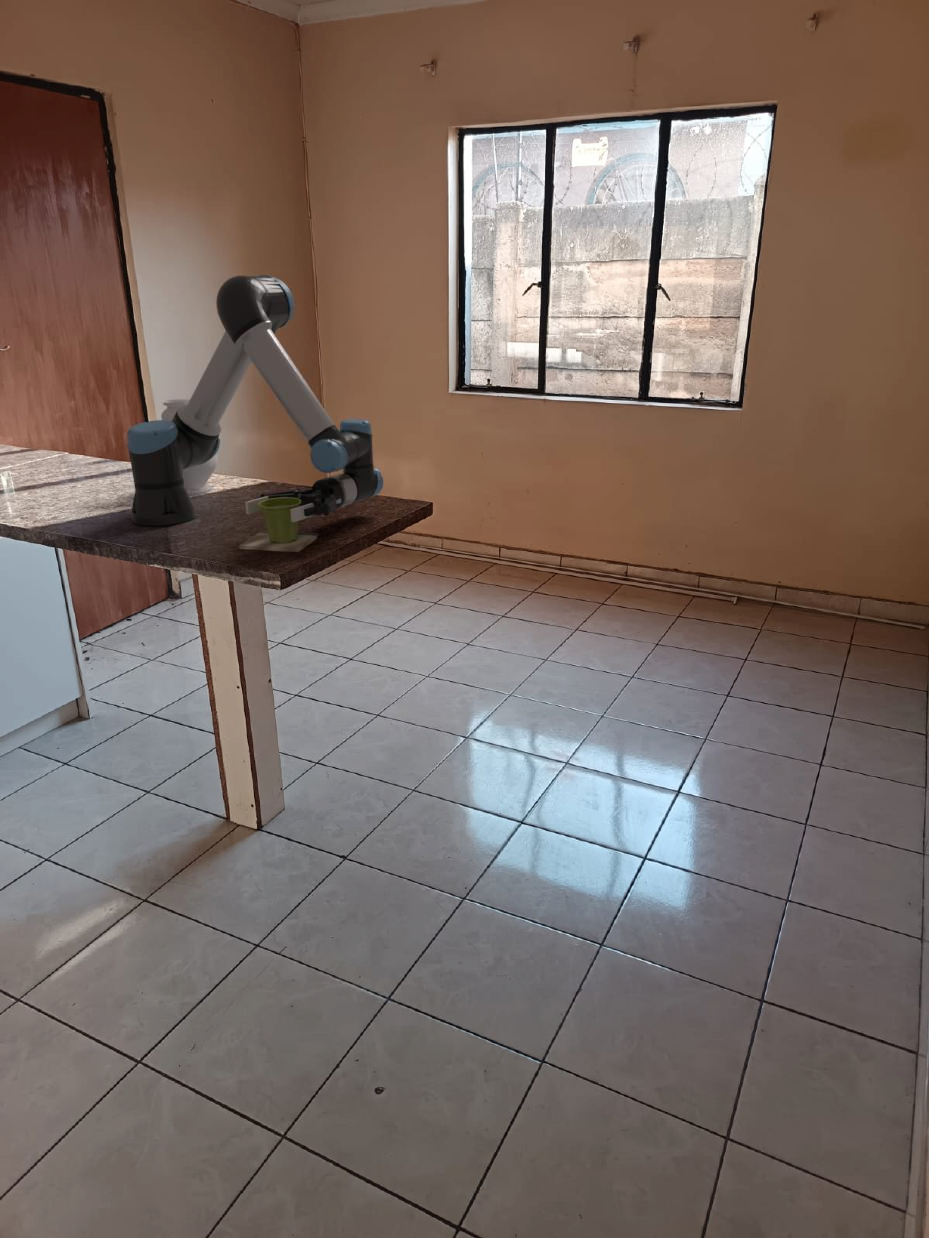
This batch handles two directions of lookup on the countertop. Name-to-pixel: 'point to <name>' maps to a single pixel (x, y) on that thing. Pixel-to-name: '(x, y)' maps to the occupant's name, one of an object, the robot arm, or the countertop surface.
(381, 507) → the countertop surface
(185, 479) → the decorative vase
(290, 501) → the plant pot
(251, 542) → the board
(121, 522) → the countertop surface
